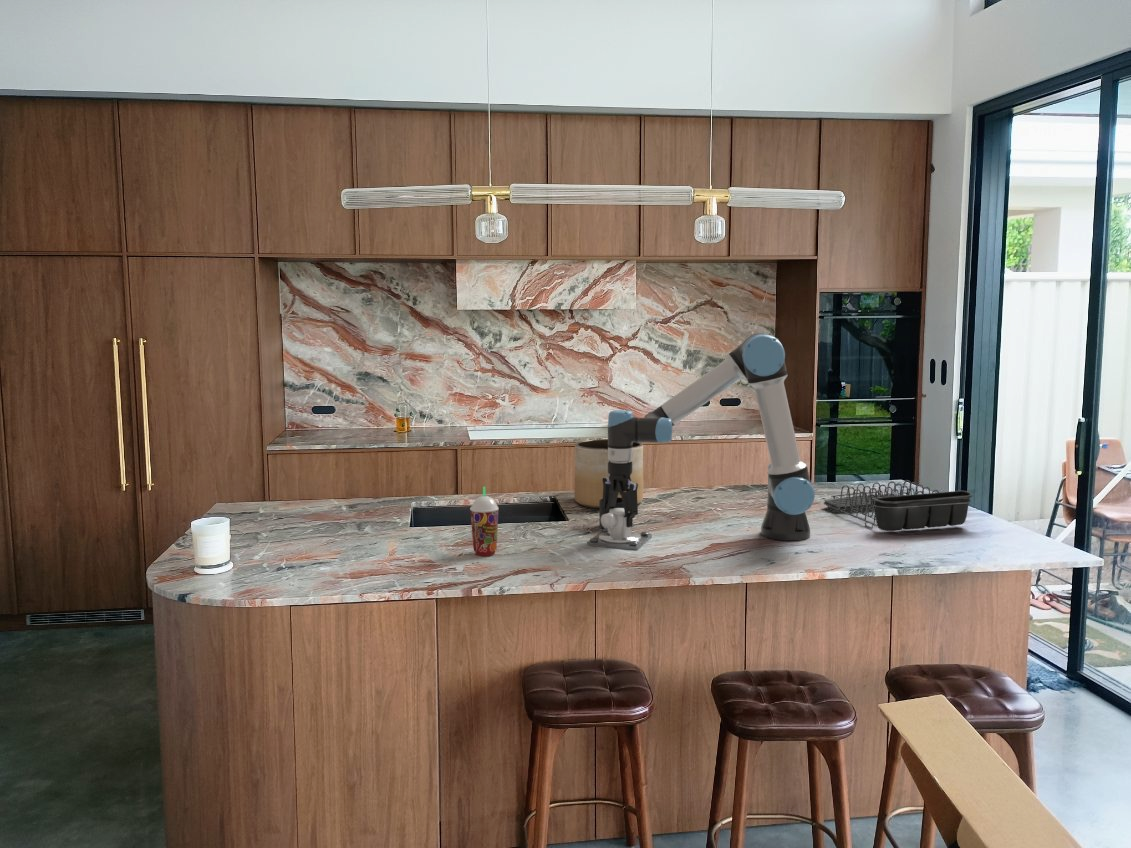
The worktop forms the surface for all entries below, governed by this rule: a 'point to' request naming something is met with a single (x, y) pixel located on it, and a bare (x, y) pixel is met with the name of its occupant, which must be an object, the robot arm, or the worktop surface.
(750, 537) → the worktop surface
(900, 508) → the dish rack
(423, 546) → the worktop surface
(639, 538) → the duct flange
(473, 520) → the smoothie
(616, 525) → the elbow
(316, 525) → the worktop surface
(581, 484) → the planter
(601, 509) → the mug
